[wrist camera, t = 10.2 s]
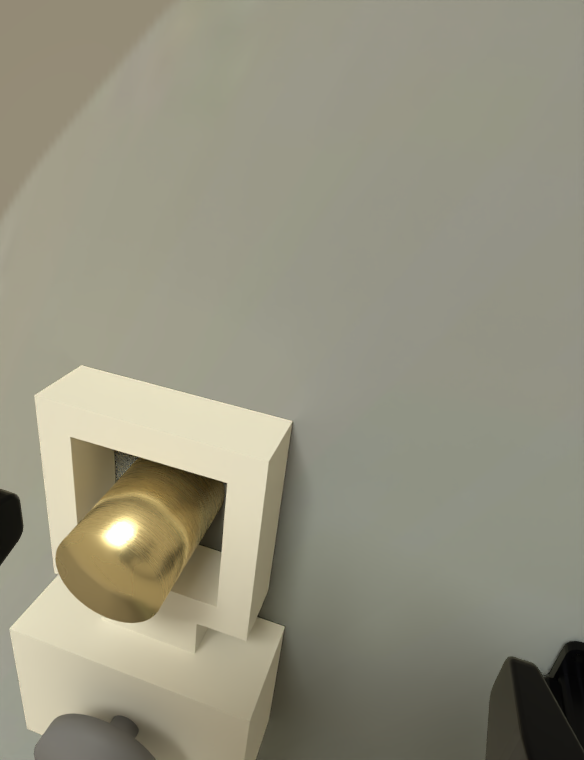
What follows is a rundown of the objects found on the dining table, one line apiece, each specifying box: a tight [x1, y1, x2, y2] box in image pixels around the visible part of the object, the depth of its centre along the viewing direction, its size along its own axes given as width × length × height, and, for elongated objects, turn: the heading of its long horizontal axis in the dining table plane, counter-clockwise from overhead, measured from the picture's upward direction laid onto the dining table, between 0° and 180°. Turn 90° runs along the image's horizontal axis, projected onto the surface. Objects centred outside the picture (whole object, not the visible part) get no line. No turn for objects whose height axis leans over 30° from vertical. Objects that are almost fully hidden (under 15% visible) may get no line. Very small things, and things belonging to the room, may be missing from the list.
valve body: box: [10, 365, 293, 760], centre depth 25 cm, size 12×20×8 cm, turn 172°
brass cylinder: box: [55, 457, 224, 623], centre depth 23 cm, size 4×4×6 cm
